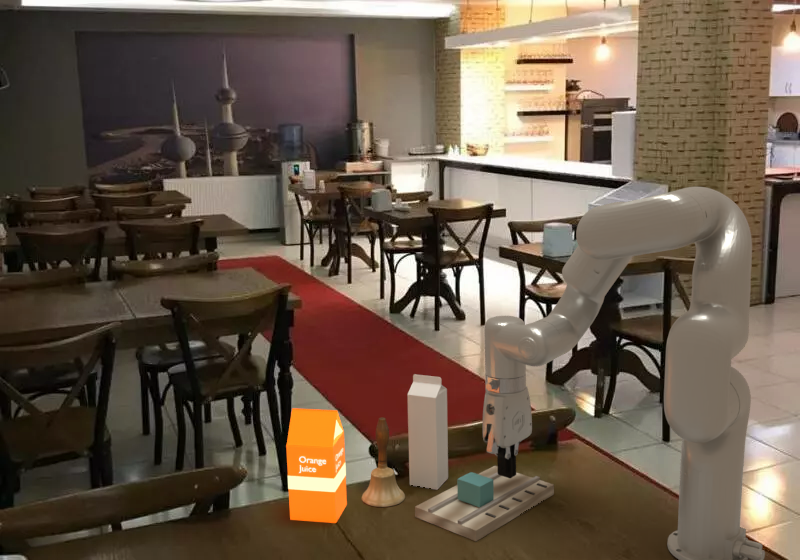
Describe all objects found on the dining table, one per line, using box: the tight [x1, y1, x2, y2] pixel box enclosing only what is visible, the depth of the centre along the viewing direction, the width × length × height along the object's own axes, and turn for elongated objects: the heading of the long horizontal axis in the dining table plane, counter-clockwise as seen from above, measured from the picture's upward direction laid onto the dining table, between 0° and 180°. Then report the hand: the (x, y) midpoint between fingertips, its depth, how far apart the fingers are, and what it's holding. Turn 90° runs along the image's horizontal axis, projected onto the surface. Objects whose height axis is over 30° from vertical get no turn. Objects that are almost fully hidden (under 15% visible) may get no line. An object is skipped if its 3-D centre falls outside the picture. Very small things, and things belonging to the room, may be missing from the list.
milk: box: [407, 373, 449, 491], centre depth 167 cm, size 6×6×22 cm
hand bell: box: [361, 417, 406, 508], centre depth 162 cm, size 8×8×16 cm
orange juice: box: [285, 407, 348, 524], centre depth 156 cm, size 8×9×20 cm
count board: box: [414, 465, 555, 542], centre depth 158 cm, size 14×24×3 cm, turn 137°
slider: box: [456, 471, 494, 507], centre depth 156 cm, size 5×4×4 cm
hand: (506, 475), depth 162 cm, fingers closed
